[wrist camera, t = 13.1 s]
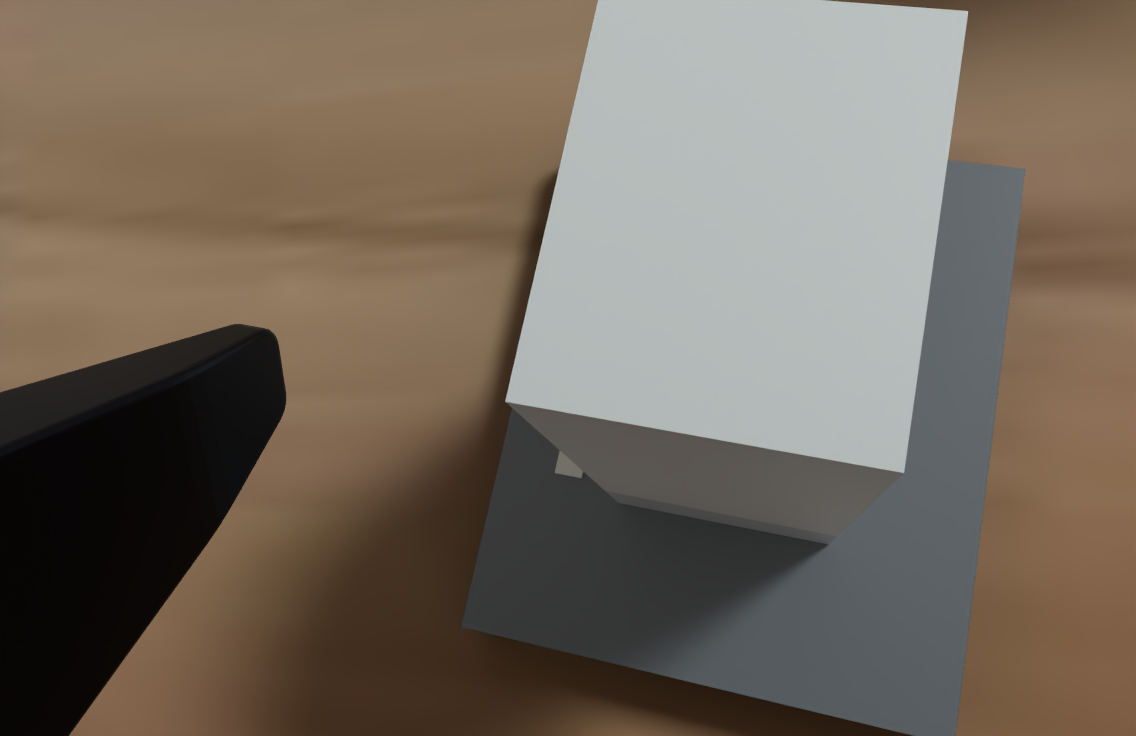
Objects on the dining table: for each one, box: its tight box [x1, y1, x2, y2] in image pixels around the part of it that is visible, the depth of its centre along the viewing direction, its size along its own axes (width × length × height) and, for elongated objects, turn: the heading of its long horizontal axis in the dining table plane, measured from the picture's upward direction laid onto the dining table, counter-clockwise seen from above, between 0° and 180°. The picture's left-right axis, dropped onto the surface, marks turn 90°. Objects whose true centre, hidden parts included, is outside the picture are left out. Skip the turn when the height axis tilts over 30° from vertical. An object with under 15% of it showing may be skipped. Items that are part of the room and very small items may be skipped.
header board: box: [461, 160, 1025, 736], centre depth 21 cm, size 12×10×3 cm
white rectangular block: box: [505, 0, 968, 545], centre depth 16 cm, size 6×4×10 cm
